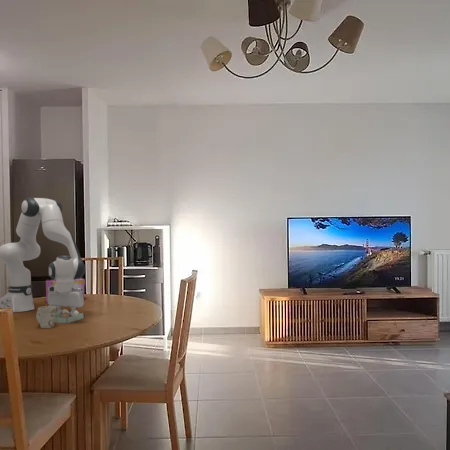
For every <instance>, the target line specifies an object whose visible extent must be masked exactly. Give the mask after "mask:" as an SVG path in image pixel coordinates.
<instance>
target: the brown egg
mask: <svg viewBox="0 0 450 450" xmlns="http://www.w3.org/2000/svg"><path fill="white" fill-rule="evenodd" d="M69 317H71V316H70V315H69V313H67V312H65V313H63V314H62V315H61V318H69Z"/></svg>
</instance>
